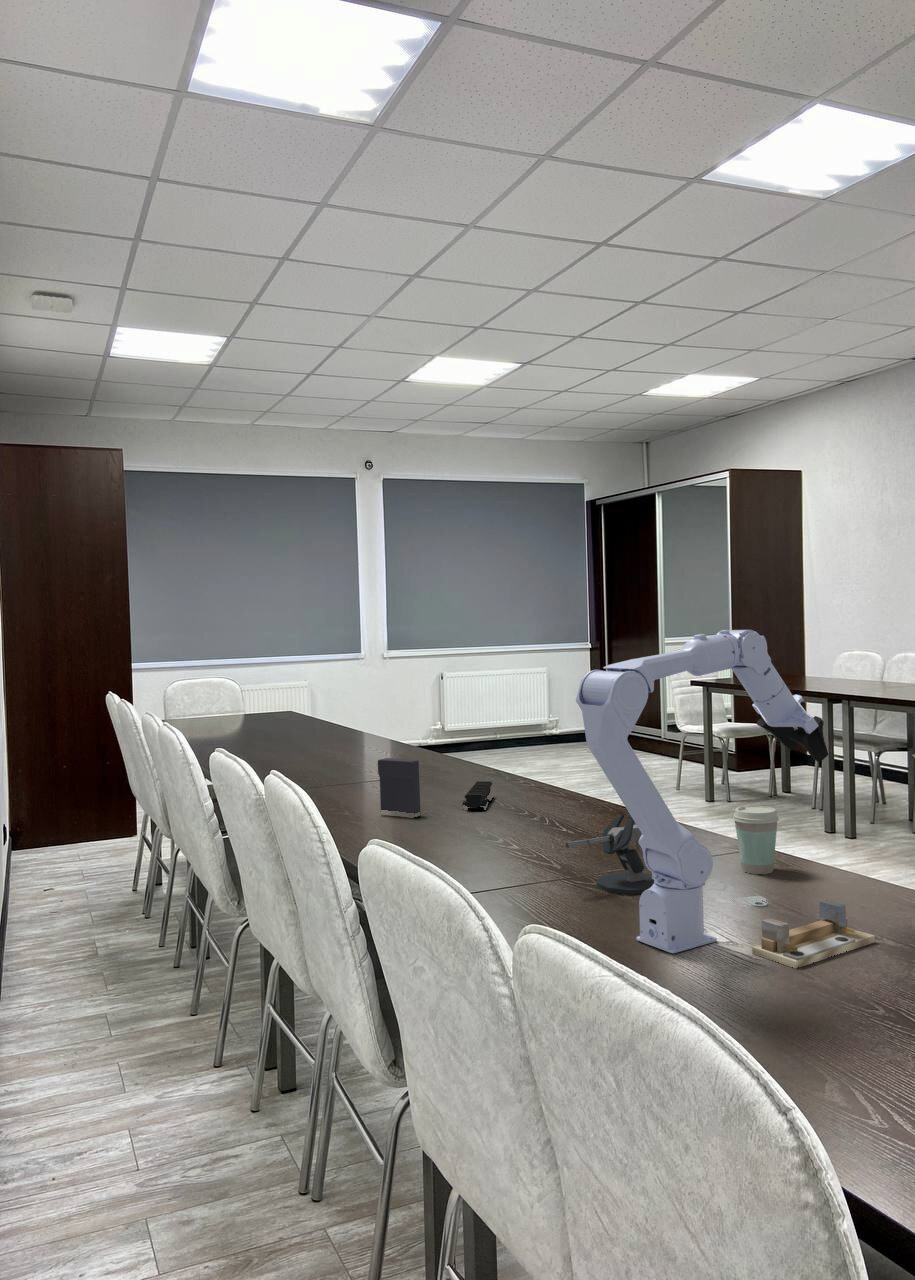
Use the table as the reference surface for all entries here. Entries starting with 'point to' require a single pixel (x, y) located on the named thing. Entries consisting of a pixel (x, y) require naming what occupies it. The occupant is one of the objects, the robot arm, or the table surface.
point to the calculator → (399, 785)
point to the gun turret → (621, 858)
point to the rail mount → (478, 794)
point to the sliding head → (835, 914)
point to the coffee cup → (756, 838)
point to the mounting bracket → (752, 898)
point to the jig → (806, 942)
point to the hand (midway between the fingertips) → (808, 751)
